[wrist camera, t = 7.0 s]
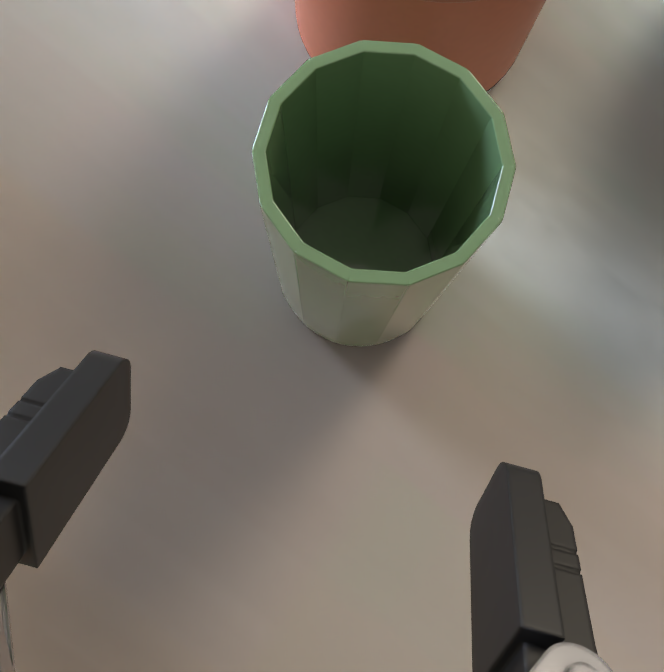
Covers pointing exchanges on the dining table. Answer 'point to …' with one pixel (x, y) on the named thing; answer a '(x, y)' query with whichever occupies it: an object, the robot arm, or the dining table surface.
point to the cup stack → (426, 28)
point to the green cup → (378, 185)
